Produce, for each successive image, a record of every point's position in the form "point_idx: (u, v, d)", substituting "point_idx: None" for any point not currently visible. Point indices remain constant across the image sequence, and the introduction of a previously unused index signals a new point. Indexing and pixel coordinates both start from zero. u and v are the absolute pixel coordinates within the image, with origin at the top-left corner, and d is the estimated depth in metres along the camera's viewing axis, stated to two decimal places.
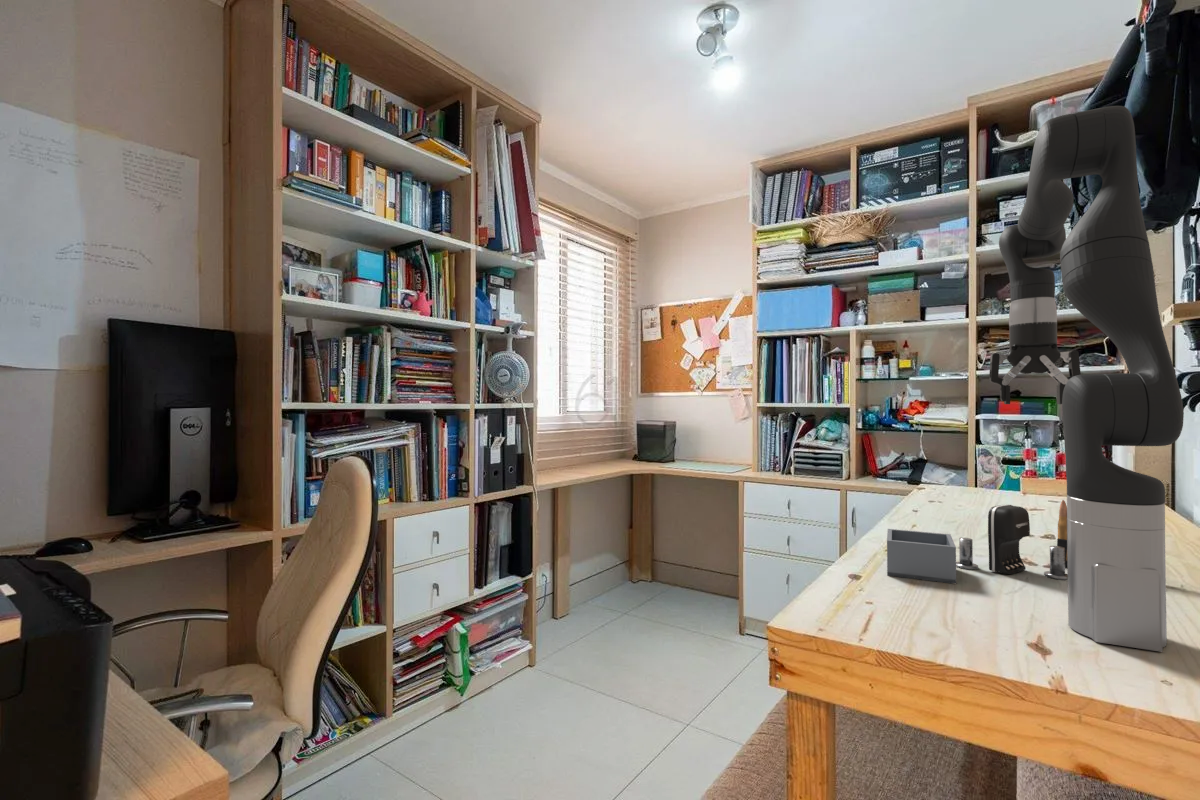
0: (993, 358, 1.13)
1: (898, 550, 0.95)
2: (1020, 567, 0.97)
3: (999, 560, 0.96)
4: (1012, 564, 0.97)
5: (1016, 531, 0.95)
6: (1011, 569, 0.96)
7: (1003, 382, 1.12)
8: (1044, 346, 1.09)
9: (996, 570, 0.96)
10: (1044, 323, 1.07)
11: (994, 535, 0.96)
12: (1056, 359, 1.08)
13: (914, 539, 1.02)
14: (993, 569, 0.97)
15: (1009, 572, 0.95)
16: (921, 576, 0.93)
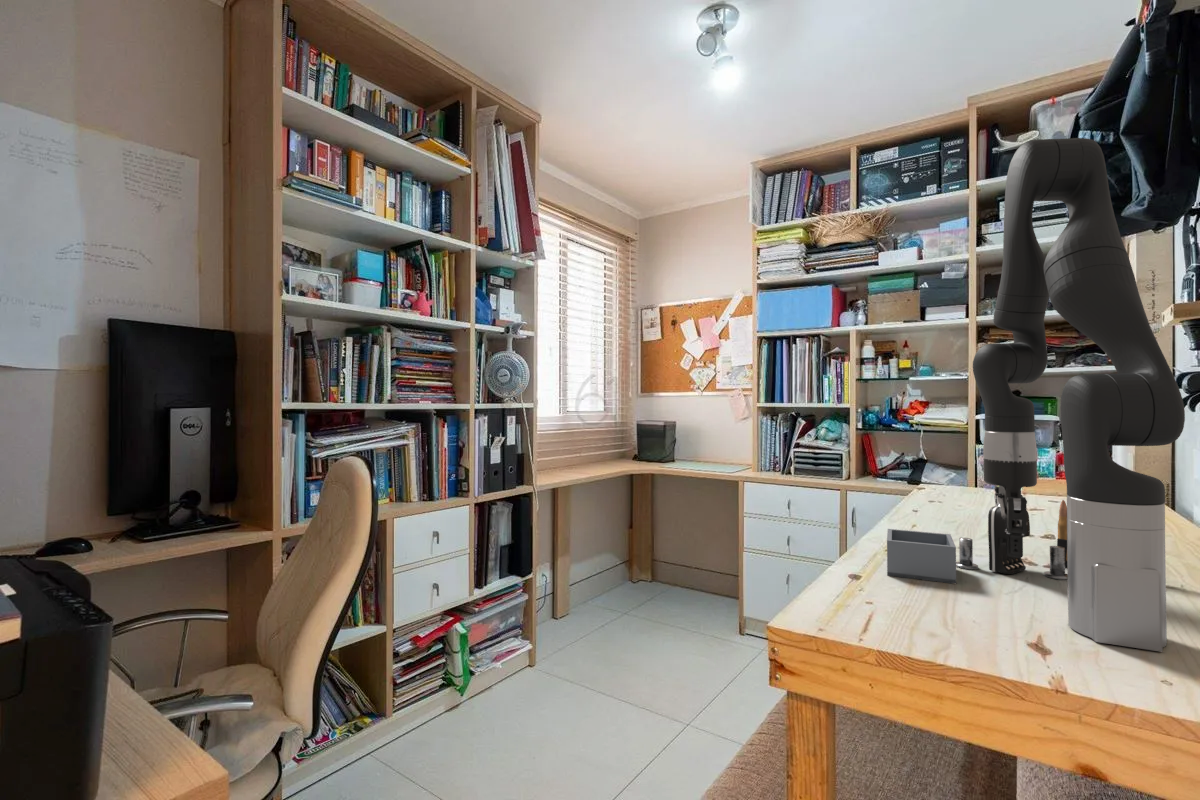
0: (1025, 505, 0.91)
1: (898, 550, 0.95)
2: (1020, 567, 0.97)
3: (999, 560, 0.96)
4: (1012, 564, 0.97)
5: None
6: (1011, 569, 0.96)
7: None
8: None
9: (996, 570, 0.96)
10: None
11: (995, 535, 0.96)
12: None
13: (914, 539, 1.02)
14: (993, 569, 0.97)
15: (1009, 572, 0.95)
16: (921, 576, 0.93)
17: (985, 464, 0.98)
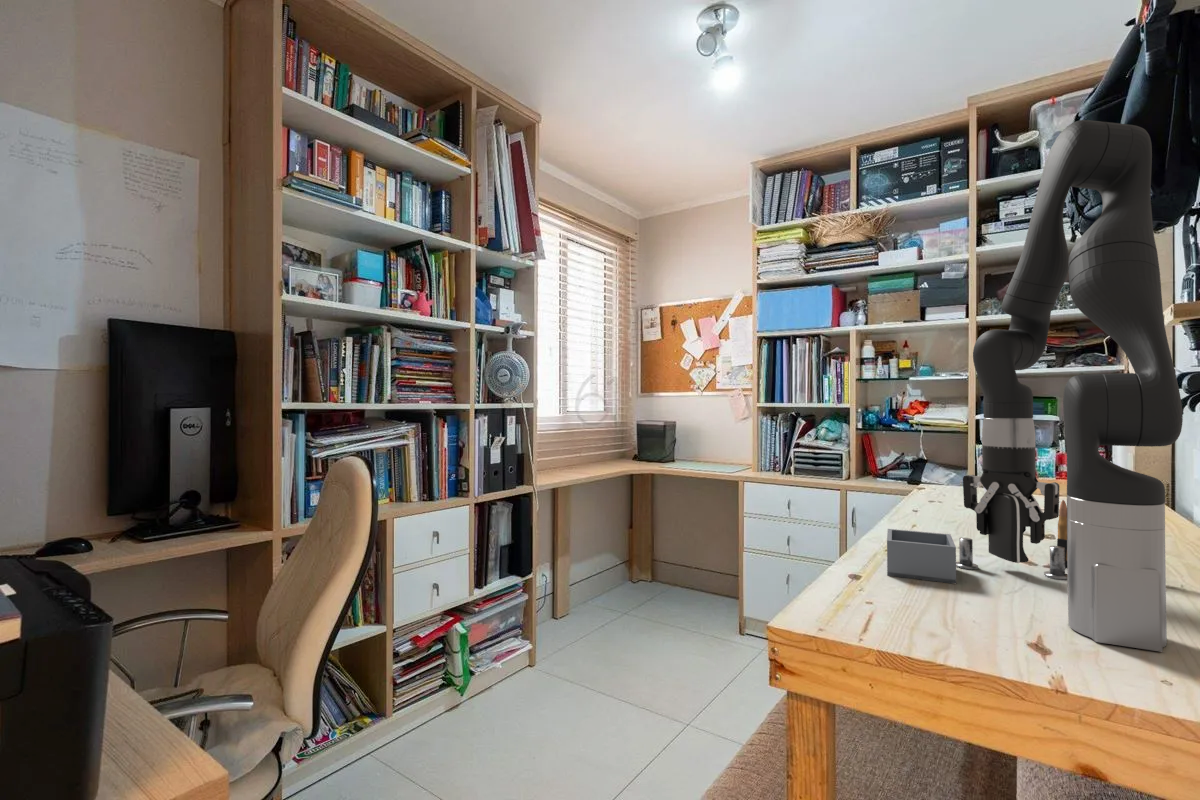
0: None
1: (898, 550, 0.95)
2: None
3: (1023, 549, 0.94)
4: None
5: None
6: None
7: None
8: None
9: (1021, 560, 0.94)
10: None
11: (1020, 525, 0.94)
12: None
13: (914, 539, 1.02)
14: (1018, 560, 0.94)
15: None
16: (921, 576, 0.93)
17: (1005, 452, 0.95)
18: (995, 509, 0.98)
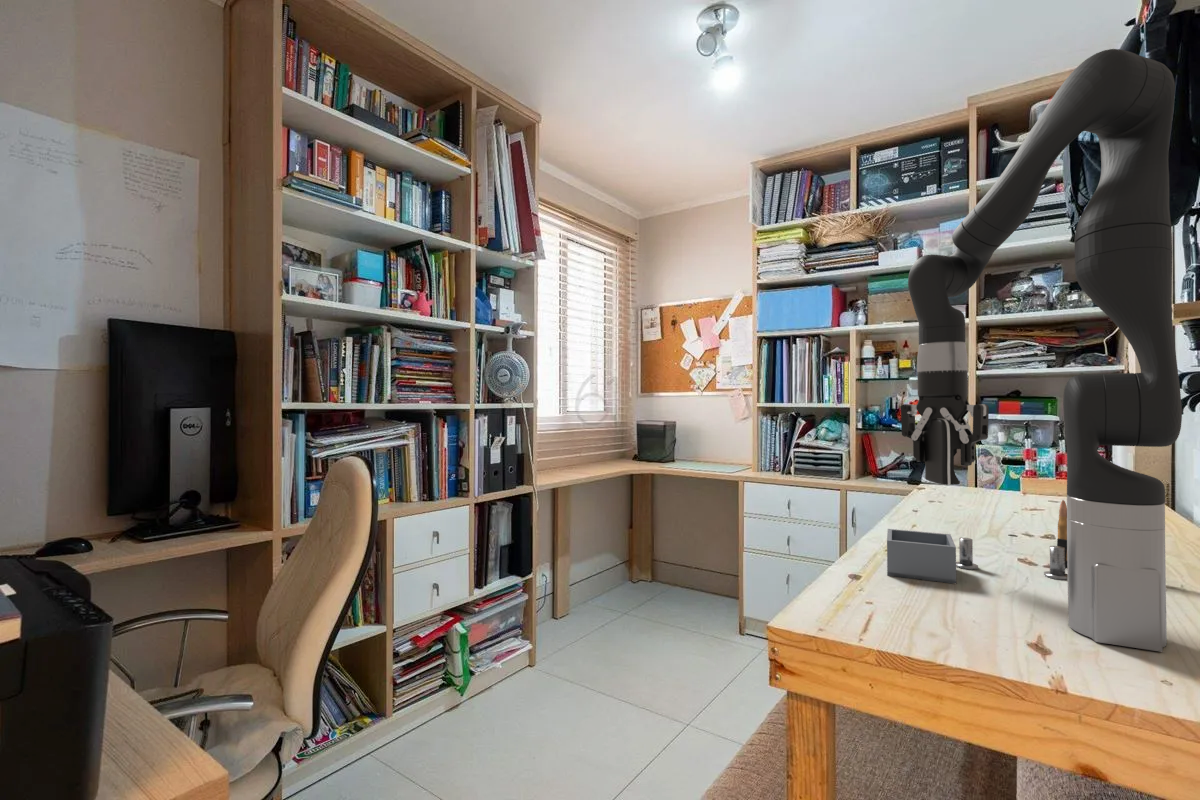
0: None
1: (898, 550, 0.95)
2: None
3: (953, 472, 0.95)
4: None
5: None
6: None
7: None
8: None
9: (951, 483, 0.94)
10: None
11: (950, 447, 0.94)
12: None
13: (914, 539, 1.02)
14: (949, 482, 0.94)
15: (959, 482, 0.95)
16: (921, 576, 0.93)
17: (936, 376, 0.95)
18: (930, 435, 0.99)
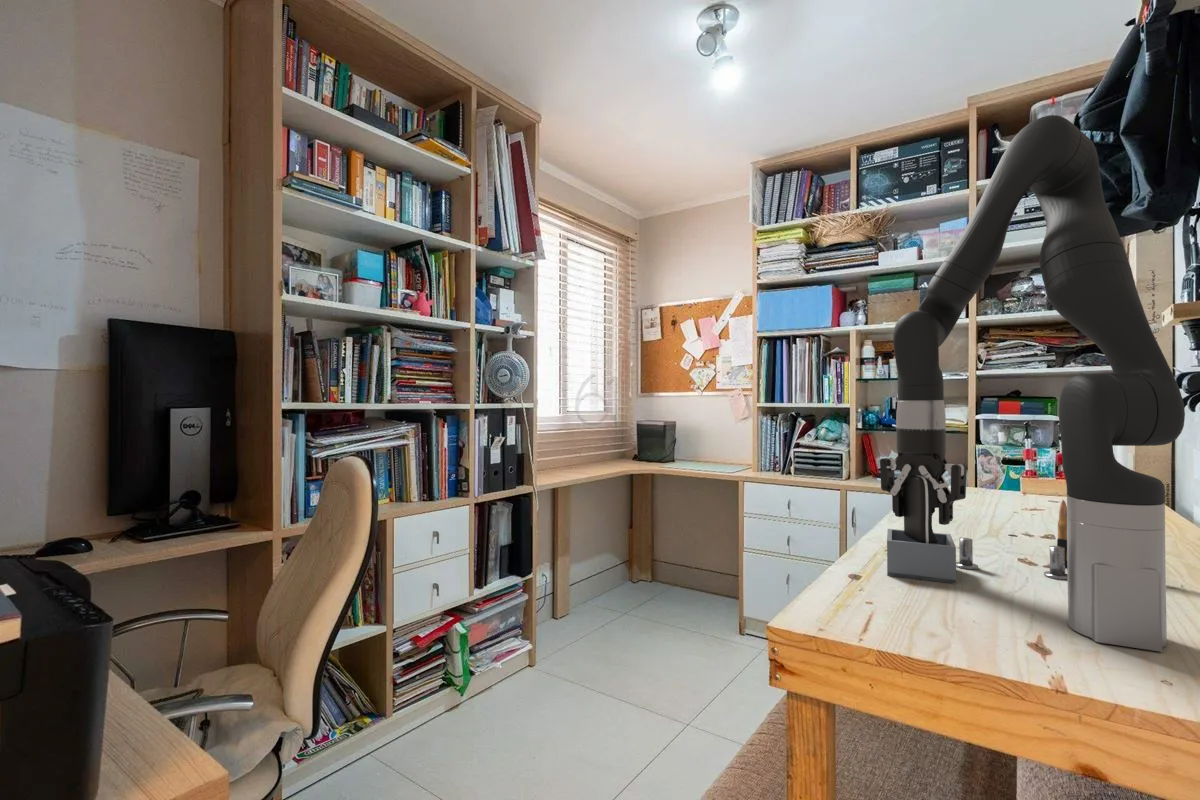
0: None
1: (898, 550, 0.95)
2: None
3: (932, 530, 0.95)
4: None
5: None
6: None
7: None
8: None
9: (929, 541, 0.94)
10: None
11: (928, 506, 0.94)
12: None
13: None
14: (927, 541, 0.94)
15: (937, 540, 0.95)
16: (921, 576, 0.93)
17: (914, 434, 0.95)
18: (908, 491, 0.99)
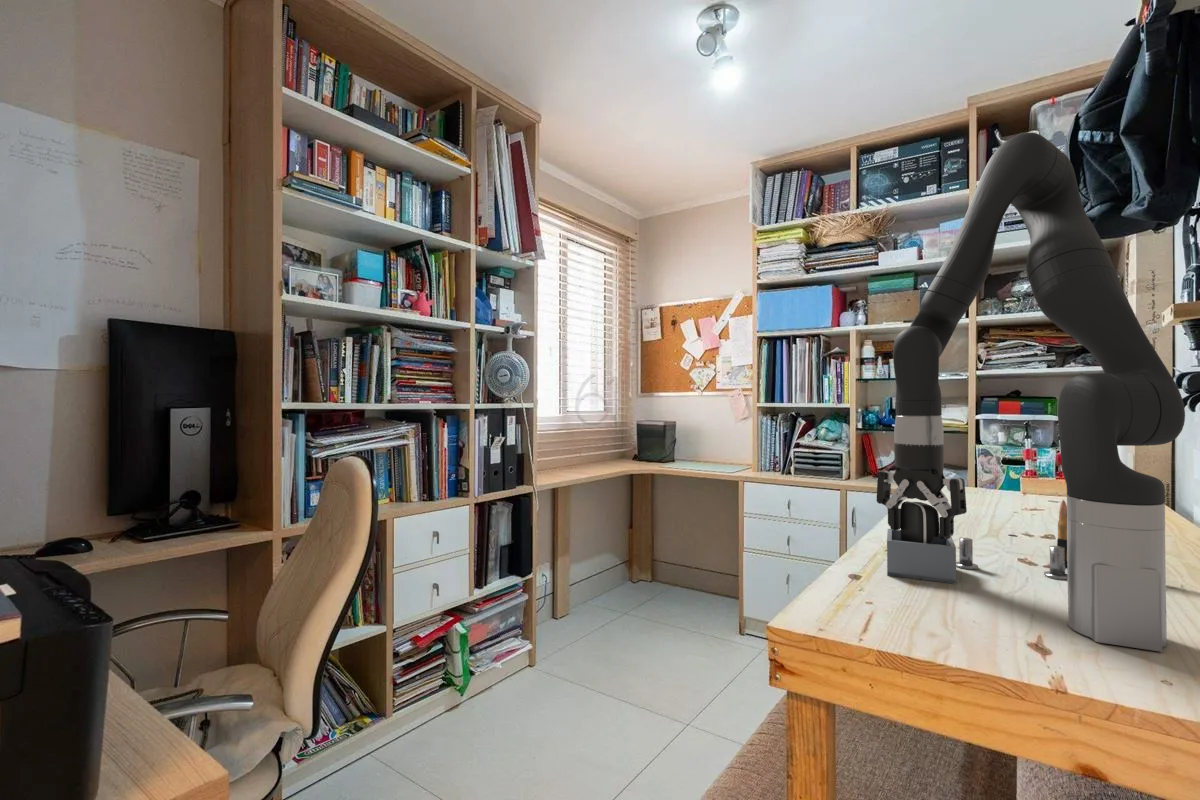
0: None
1: (898, 550, 0.95)
2: None
3: None
4: None
5: None
6: None
7: None
8: None
9: None
10: None
11: (926, 535, 0.94)
12: None
13: None
14: None
15: None
16: (921, 576, 0.93)
17: (912, 450, 0.95)
18: (906, 518, 0.99)
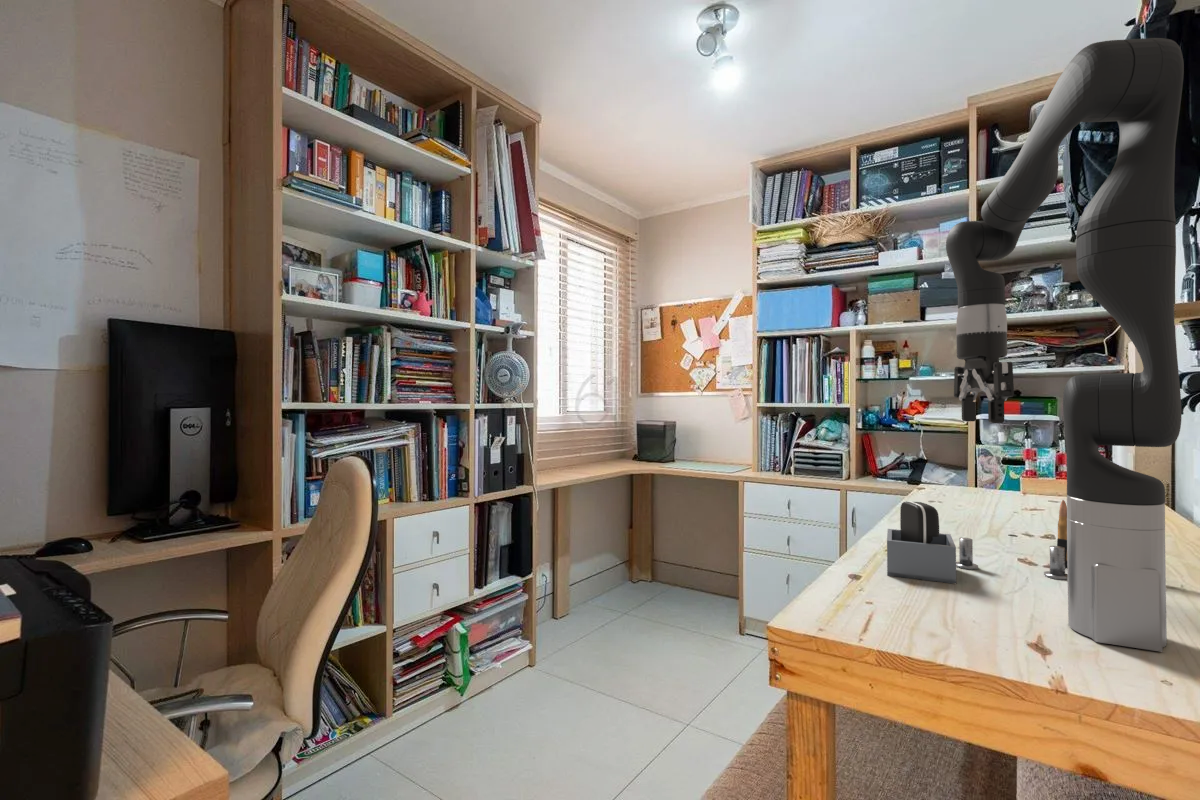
0: None
1: (898, 550, 0.95)
2: None
3: None
4: None
5: None
6: None
7: None
8: None
9: None
10: None
11: (926, 535, 0.94)
12: None
13: None
14: None
15: None
16: (921, 576, 0.93)
17: (962, 339, 1.00)
18: (906, 518, 0.99)
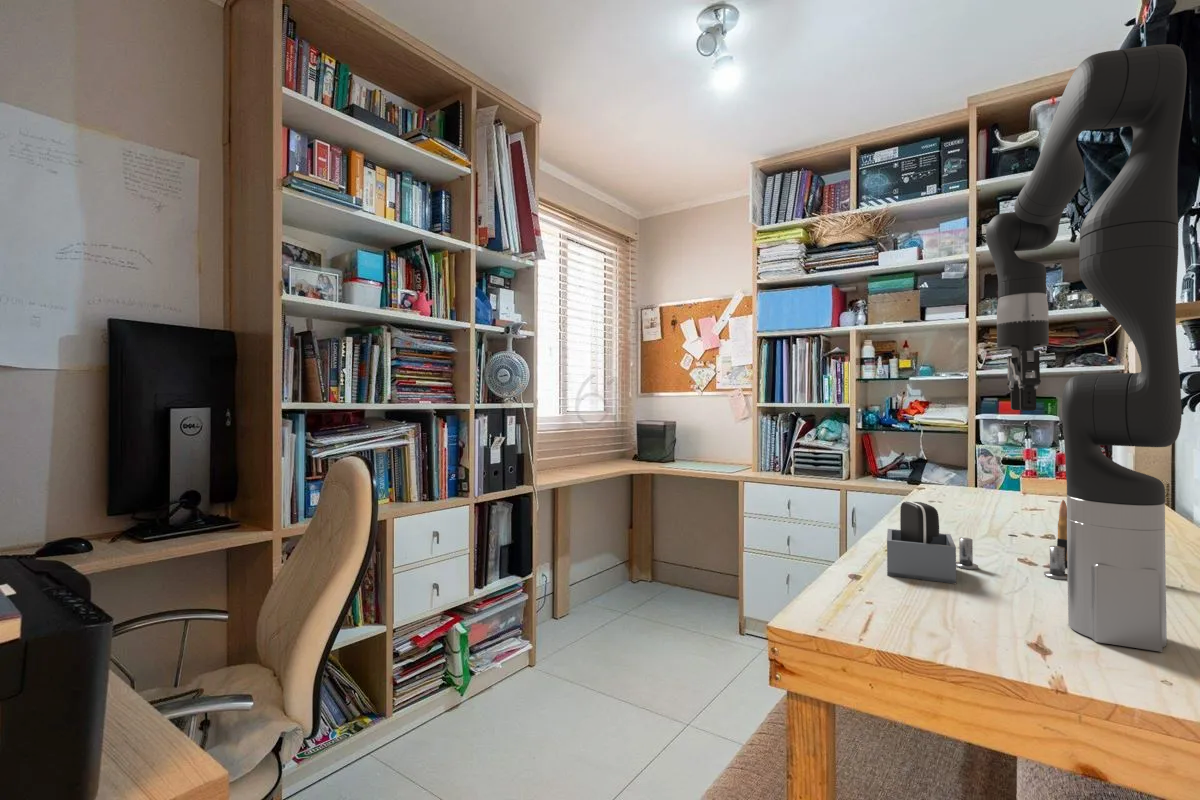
0: (1038, 356, 0.95)
1: (898, 550, 0.95)
2: None
3: None
4: None
5: None
6: None
7: (1037, 385, 0.96)
8: None
9: None
10: None
11: (926, 535, 0.94)
12: None
13: None
14: None
15: None
16: (921, 576, 0.93)
17: (998, 329, 1.02)
18: (906, 518, 0.99)
